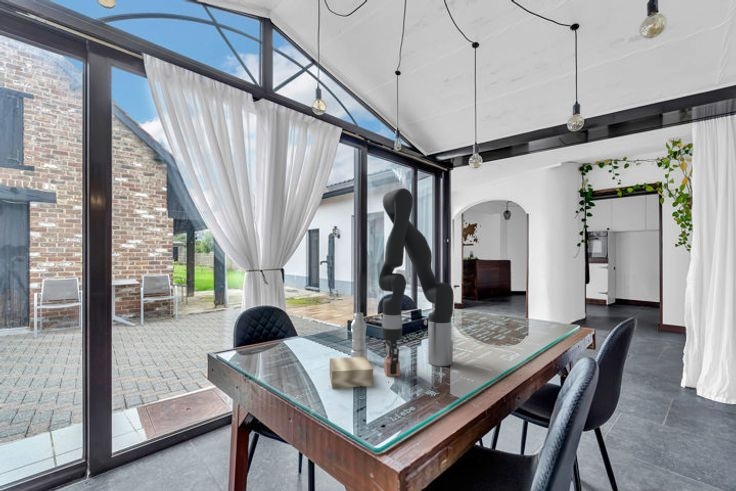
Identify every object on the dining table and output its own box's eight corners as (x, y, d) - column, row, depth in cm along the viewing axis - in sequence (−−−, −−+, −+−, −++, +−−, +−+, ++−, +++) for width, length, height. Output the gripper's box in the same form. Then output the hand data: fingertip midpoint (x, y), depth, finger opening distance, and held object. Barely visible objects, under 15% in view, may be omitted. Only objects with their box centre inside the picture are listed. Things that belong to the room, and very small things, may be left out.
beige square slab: (366, 372, 131) (366, 356, 131) (373, 386, 117) (373, 369, 117) (329, 374, 128) (329, 358, 129) (332, 389, 115) (332, 371, 115)
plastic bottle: (364, 364, 139) (365, 315, 140) (348, 363, 141) (349, 314, 141) (368, 359, 146) (368, 312, 146) (352, 358, 147) (352, 311, 147)
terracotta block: (397, 371, 131) (397, 358, 132) (399, 375, 127) (399, 362, 127) (384, 371, 131) (384, 358, 131) (386, 376, 126) (386, 362, 126)
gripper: (406, 330, 122) (406, 377, 122) (397, 321, 137) (397, 364, 136) (385, 330, 121) (385, 378, 121) (379, 322, 136) (379, 365, 135)
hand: (391, 371), depth 129 cm, fingers closed on terracotta block, 5 cm apart
